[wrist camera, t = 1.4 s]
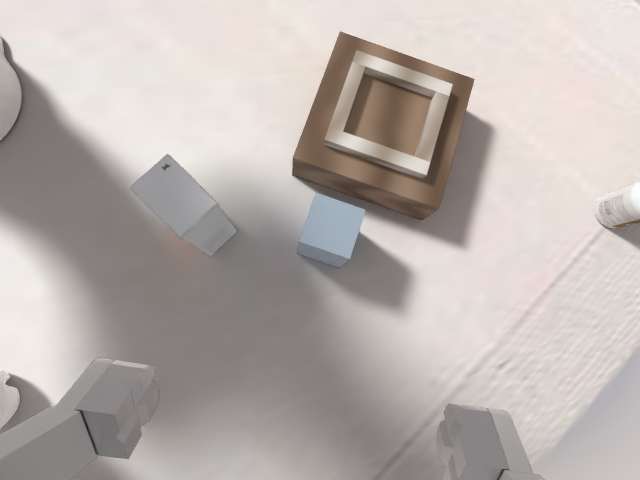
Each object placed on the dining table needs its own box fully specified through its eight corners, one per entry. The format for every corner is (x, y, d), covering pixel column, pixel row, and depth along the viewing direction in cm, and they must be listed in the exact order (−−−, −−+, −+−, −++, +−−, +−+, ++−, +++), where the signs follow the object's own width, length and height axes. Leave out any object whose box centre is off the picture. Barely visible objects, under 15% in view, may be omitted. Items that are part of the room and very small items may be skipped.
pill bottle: (613, 236, 45) (679, 221, 38) (585, 211, 46) (644, 192, 38) (632, 211, 46) (700, 191, 39) (604, 187, 46) (666, 163, 39)
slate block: (296, 253, 42) (298, 241, 34) (311, 212, 43) (315, 192, 35) (339, 268, 42) (350, 259, 34) (352, 226, 43) (365, 209, 36)
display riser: (292, 175, 43) (293, 153, 37) (334, 60, 47) (341, 23, 40) (421, 220, 44) (443, 205, 38) (455, 103, 47) (479, 72, 41)
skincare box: (172, 221, 41) (126, 185, 29) (201, 195, 42) (167, 150, 30) (210, 259, 41) (179, 239, 29) (239, 232, 42) (219, 201, 30)
